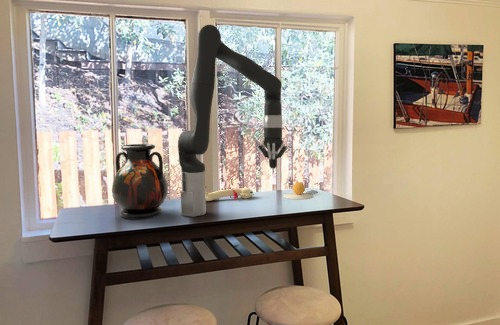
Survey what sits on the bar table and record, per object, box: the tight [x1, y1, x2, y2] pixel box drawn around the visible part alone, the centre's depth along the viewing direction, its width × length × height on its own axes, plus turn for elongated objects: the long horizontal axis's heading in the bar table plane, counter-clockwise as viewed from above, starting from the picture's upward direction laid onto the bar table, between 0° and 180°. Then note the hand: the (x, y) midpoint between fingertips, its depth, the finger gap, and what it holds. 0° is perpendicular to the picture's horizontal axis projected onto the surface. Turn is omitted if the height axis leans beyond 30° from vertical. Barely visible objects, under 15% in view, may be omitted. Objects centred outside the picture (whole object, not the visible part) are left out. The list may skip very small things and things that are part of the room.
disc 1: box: [283, 192, 314, 200], centre depth 204 cm, size 14×14×1 cm
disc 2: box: [305, 189, 318, 195], centre depth 214 cm, size 10×10×1 cm
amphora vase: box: [111, 143, 169, 220], centre depth 170 cm, size 22×22×28 cm
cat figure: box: [205, 185, 255, 202], centre depth 199 cm, size 10×9×25 cm
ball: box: [292, 181, 306, 194], centre depth 208 cm, size 6×6×6 cm
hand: (273, 168), depth 179 cm, fingers closed
